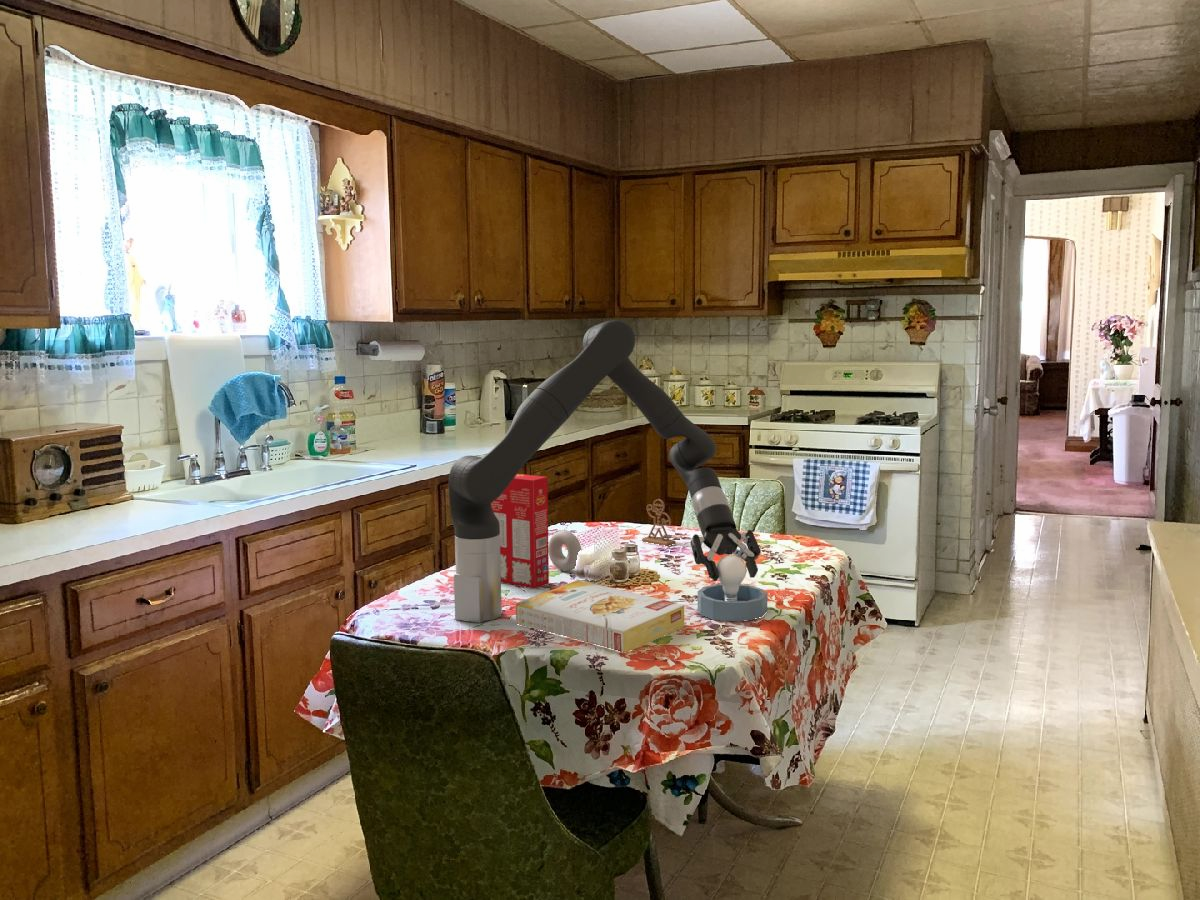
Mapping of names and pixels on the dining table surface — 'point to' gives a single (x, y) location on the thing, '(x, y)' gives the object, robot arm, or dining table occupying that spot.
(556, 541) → the donut
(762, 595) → the bowl
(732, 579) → the lightbulb
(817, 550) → the dining table surface
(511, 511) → the food packaging
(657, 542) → the gingerbread man figurine
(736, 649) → the dining table surface
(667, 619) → the cereal box
